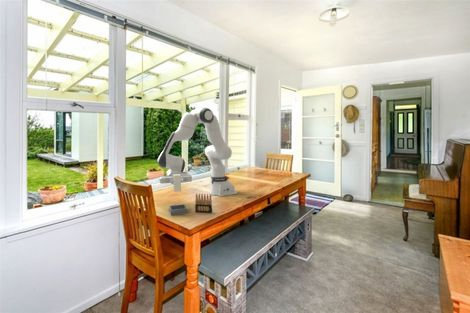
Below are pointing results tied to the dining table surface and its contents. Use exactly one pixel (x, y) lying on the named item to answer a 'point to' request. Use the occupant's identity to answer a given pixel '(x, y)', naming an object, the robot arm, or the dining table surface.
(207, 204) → the ammunition clip
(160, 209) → the dining table surface
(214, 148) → the robot arm
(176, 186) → the cream block
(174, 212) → the box
